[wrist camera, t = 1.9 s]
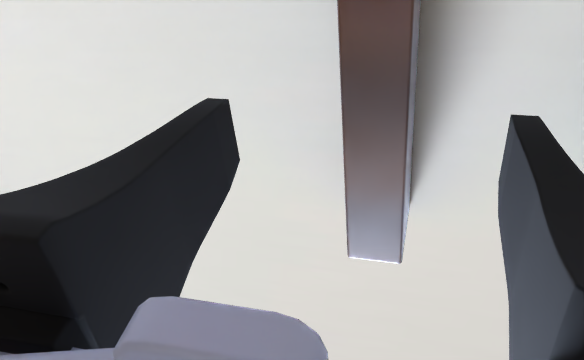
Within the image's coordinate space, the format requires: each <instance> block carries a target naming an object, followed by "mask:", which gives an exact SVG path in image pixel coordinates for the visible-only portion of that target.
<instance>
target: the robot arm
mask: <svg viewBox="0 0 584 360" xmlns="http://www.w3.org/2000/svg"><path fill="white" fill-rule="evenodd" d="M239 161H240V158H239V153H238V147H237V142H236V137H235V132H234V126H233V121H232V116H231V110H230V105H229V100H228V99H212V98H207V99H205V100H203V101H201V102H200V103H198V104H196V105H195V106H193V107H191V108H190V109H188V110H187V111H185V112H184V113H182V114H180V115H179V116H177V117H176V118H174V119H173V120H171V121H170V122H168V123H166V124H165V125H163V126H162V127H160V128H159V129H157V130H156V131H154V132H152V133H151V134H149V135H147V136H145V137H144V138H142V139H140V140H139V141H137V142H135V143H133V144H132V145H130V146H128V147H127V148H125V149H123V150H121V151H119V152H117V153H115V154H113V155H111V156H109V157H107V158H105V159H103V160H101V161H99V162H97V163H95V164H92V165H90V166H88V167H85V168H83V169H80V170H77V171H75V172H72V173H70V174H67V175H64V176H62V177H59V178H57V179H54V180H51V181H48V182H45V183H41V184H38V185H35V186H32V187H28V188H25V189H21V190H17V191H13V192H10V193H5V194H1V195H0V360H328V352H327V350H326V348H325V346H324V344H323V342H322V340H321V338H320V336H319V335H318V333H317V332H315V331H314V330H313V329H311V328H310V327H308V326H307V325H306V324H304V323H303V322H302V321H300V320H299V319H296V318H293V317H290V316H287V315H283V314H280V313H277V312H272V311H266V310H259V309H253V308H246V307H240V306H233V305H227V304H220V303H214V302H207V301H201V300H194V299H188V298H181V297H180V294H181V291H182V288H183V286H184V283H185V281H186V278H187V275H188V273H189V270H190V267H191V265H192V262H193V260H194V258H195V256H196V254H197V252H198V250H199V248H200V246H201V244H202V242H203V240H204V238H205V236H206V234H207V233H208V231H209V229H210V227H211V225H212V223H213V221H214V219H215V217H216V216H217V214H218V212H219V210H220V208H221V206H222V204H223V202H224V200H225V198H226V196H227V194H228V192H229V190H230V188H231V185H232V182H233V179H234V177H235V173H236V170H237V167H238V164H239ZM498 217H499V226H500V234H501V242H502V250H503V257H504V265H505V273H506V280H507V288H508V300H509V360H584V174H583V173H582V172H581V171H580V169H579V168H578V167H577V166H576V165H575V163H574V162H573V161H572V160H571V159H570V157H569V156H568V155H567V154H566V152H565V151H564V150H563V149H562V147H561V146H560V145H559V143H558V142H557V140H556V139H555V138H554V136H553V135H552V134H551V132H550V131H549V129H548V128H547V126H546V125H545V124H544V122H543V121H542V120H541V118H540V117H539V116H526V115H511V118H510V123H509V128H508V134H507V139H506V145H505V150H504V155H503V161H502V166H501V172H500V177H499V193H498Z"/></svg>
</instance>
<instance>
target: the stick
mask: <svg viewBox="0 0 584 360" xmlns="http://www.w3.org/2000/svg"><path fill="white" fill-rule="evenodd" d="M337 6H338V31H339V55H340V80H341V105H342V129H343V154H344V178H345V203H346V227H347V252H348V257H350V258H357V259H365V260H373V261H381V262H389V263H397V264H400V263H401V262H402V257H403V250H404V243H405V236H406V229H407V221H408V214H409V203H410V185H411V167H412V149H413V131H414V113H415V95H416V78H417V60H418V42H419V24H420V6H421V0H337Z"/></svg>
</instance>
